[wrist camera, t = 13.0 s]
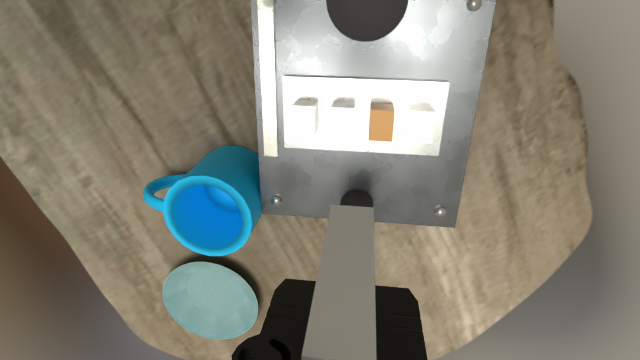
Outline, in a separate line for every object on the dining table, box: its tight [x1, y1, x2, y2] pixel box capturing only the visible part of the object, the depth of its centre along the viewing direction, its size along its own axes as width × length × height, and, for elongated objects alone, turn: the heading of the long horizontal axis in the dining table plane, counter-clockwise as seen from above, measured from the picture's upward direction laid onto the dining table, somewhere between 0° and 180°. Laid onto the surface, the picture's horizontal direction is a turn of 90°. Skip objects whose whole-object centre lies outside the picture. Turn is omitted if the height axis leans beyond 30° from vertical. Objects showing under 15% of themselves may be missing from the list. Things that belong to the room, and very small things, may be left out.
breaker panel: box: [251, 0, 496, 228], centre depth 33 cm, size 20×18×8 cm
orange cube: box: [368, 103, 395, 142], centre depth 30 cm, size 2×2×2 cm
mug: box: [143, 145, 262, 256], centre depth 38 cm, size 12×8×8 cm
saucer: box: [163, 261, 258, 340], centre depth 47 cm, size 12×12×2 cm
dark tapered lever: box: [326, 0, 408, 42], centre depth 21 cm, size 3×3×16 cm
